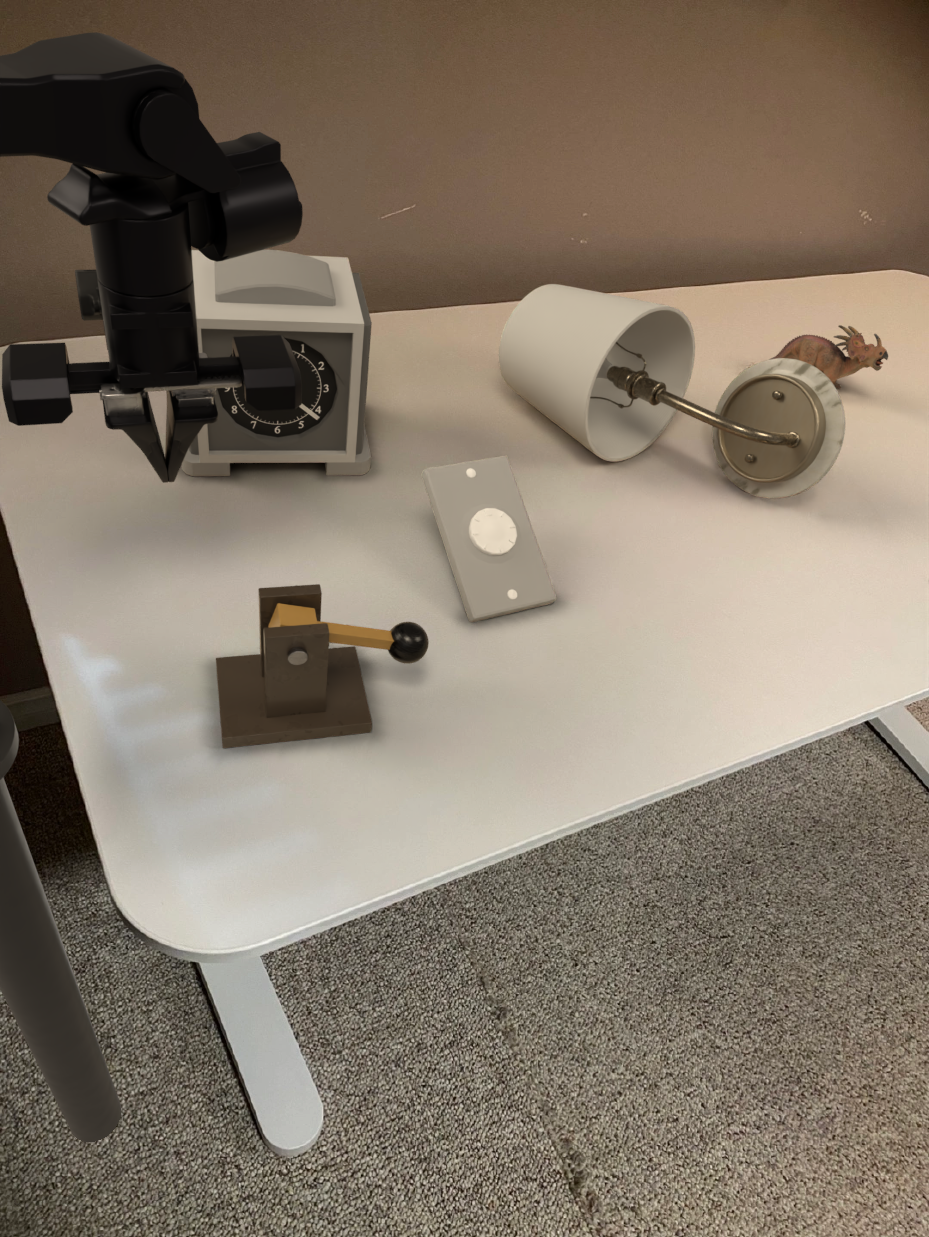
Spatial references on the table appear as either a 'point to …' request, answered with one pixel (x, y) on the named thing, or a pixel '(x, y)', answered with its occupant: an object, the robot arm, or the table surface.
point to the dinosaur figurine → (836, 353)
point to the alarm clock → (322, 346)
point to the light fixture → (665, 388)
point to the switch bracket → (291, 681)
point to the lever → (361, 633)
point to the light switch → (488, 537)
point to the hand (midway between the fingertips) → (167, 479)
